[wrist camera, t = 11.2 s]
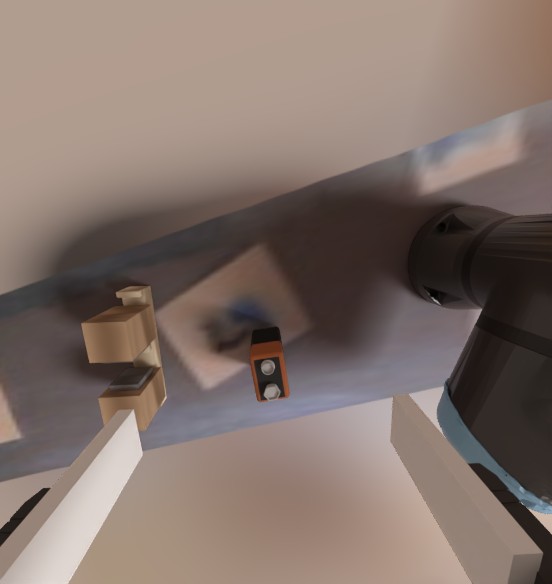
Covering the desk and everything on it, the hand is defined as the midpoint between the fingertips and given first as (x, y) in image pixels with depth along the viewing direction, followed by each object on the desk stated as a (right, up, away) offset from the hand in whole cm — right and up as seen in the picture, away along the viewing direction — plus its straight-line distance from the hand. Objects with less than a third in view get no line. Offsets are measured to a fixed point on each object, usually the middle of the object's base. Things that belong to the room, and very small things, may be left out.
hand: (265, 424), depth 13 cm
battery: (-1, -2, +29) cm, 29 cm away
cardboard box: (-20, +2, +24) cm, 31 cm away
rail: (-19, -2, +27) cm, 34 cm away
